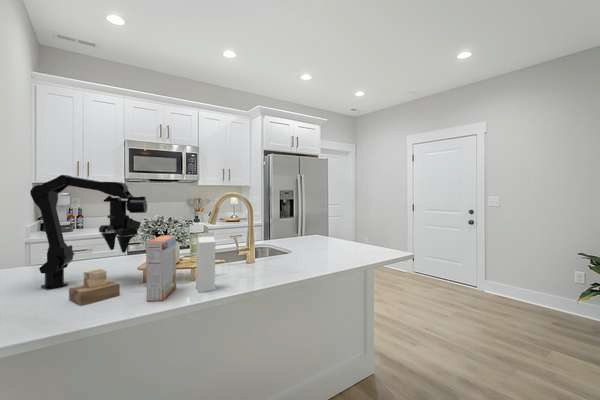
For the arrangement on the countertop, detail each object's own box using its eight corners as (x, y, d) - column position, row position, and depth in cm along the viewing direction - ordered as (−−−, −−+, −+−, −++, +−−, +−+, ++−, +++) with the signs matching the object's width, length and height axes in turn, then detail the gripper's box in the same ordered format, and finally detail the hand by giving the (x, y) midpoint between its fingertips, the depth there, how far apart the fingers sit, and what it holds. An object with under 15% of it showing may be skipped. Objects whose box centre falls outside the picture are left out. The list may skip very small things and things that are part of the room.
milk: (214, 290, 113) (215, 233, 113) (198, 292, 110) (199, 234, 110) (211, 286, 118) (212, 231, 118) (195, 288, 116) (196, 232, 115)
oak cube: (83, 286, 102) (83, 271, 102) (99, 282, 107) (99, 268, 107) (90, 288, 100) (90, 274, 100) (106, 285, 104) (106, 270, 104)
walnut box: (69, 300, 101) (69, 287, 101) (107, 290, 111) (107, 279, 111) (80, 305, 96) (80, 292, 96) (119, 295, 106) (119, 283, 106)
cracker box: (160, 288, 114) (161, 234, 114) (176, 288, 115) (177, 234, 114) (144, 301, 100) (145, 240, 100) (163, 301, 101) (163, 240, 100)
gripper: (150, 213, 121) (150, 250, 122) (126, 211, 131) (126, 245, 132) (122, 214, 112) (122, 255, 112) (98, 212, 122) (98, 249, 122)
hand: (117, 251), depth 120 cm, fingers open, 9 cm apart
